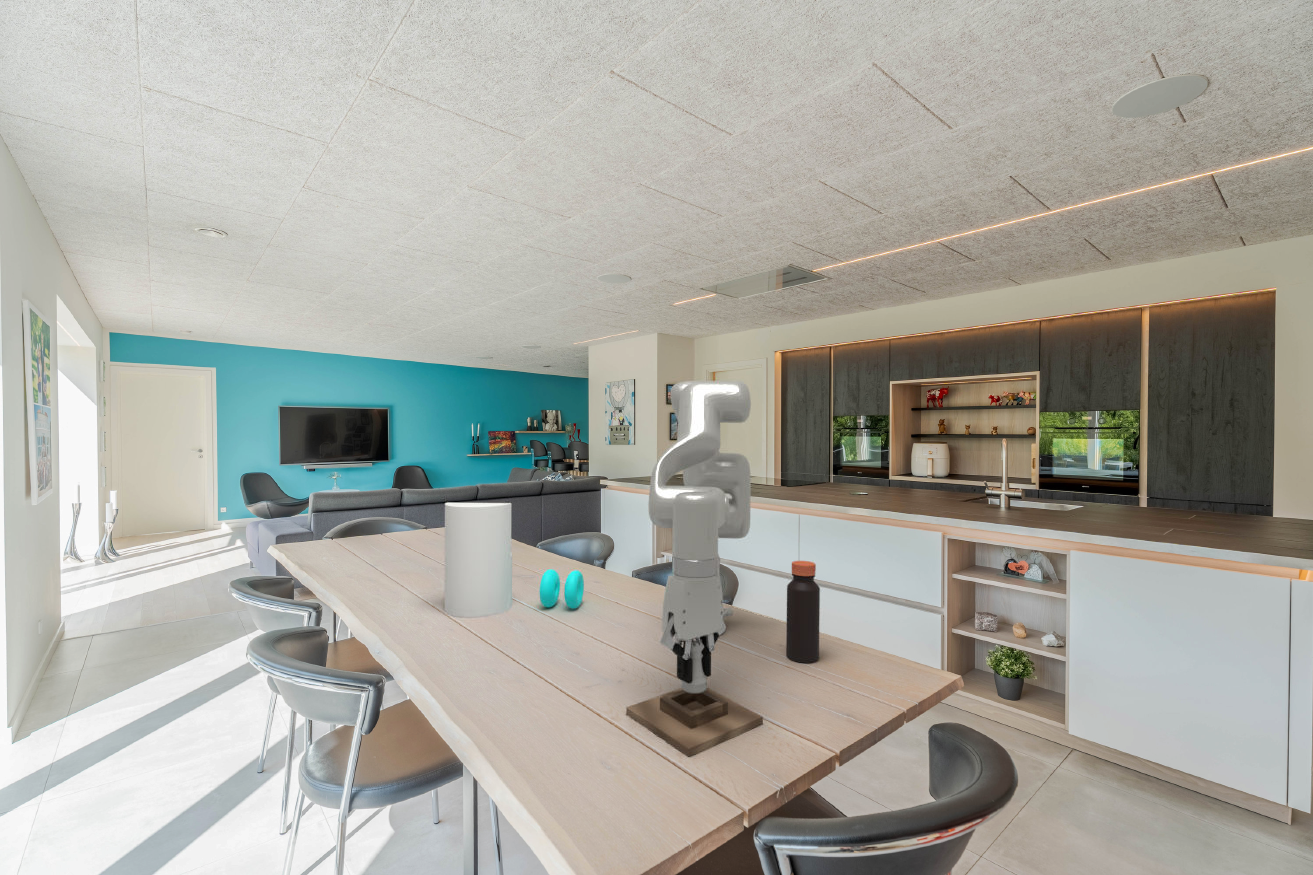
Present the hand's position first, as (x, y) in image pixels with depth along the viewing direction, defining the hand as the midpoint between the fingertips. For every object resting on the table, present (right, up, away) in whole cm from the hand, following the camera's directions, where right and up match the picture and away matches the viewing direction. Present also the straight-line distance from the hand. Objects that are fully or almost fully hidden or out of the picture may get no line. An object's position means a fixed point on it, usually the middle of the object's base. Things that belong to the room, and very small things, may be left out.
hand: (693, 675), depth 97 cm
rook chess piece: (0, -2, 0) cm, 2 cm away
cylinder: (-54, -6, +59) cm, 80 cm away
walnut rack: (0, -7, 0) cm, 7 cm away
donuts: (-32, -6, +60) cm, 68 cm away
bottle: (+25, -7, +27) cm, 37 cm away
